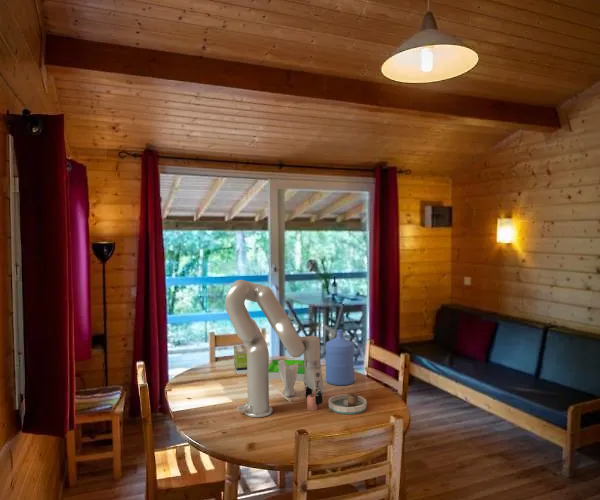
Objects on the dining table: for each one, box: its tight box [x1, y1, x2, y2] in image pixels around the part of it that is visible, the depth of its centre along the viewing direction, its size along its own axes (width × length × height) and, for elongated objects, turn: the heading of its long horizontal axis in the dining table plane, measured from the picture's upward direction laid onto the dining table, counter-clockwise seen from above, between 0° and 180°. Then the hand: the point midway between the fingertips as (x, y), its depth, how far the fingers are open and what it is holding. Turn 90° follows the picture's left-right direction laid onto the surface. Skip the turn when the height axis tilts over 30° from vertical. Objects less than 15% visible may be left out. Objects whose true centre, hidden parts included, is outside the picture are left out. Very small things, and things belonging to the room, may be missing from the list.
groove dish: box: [327, 393, 368, 416], centre depth 208 cm, size 17×17×3 cm
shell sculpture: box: [278, 359, 298, 398], centre depth 224 cm, size 8×8×18 cm
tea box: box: [233, 344, 247, 374], centre depth 263 cm, size 15×10×15 cm, turn 14°
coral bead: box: [306, 394, 318, 412], centre depth 206 cm, size 4×4×6 cm
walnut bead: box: [347, 393, 359, 407], centre depth 204 cm, size 4×4×6 cm
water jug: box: [324, 328, 355, 386], centre depth 245 cm, size 16×16×28 cm
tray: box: [269, 359, 305, 382], centre depth 260 cm, size 25×25×5 cm
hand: (314, 400), depth 206 cm, fingers open, 9 cm apart
